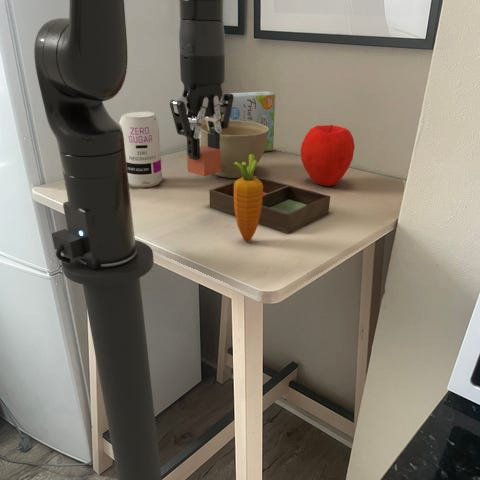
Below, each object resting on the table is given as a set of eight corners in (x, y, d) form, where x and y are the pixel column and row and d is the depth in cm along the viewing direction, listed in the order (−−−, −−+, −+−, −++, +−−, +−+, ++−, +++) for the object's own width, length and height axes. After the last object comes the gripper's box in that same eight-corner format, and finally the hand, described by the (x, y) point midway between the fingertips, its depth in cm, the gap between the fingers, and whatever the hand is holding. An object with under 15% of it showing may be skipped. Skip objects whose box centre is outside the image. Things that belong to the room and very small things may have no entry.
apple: (293, 189, 113) (298, 127, 105) (303, 174, 122) (308, 117, 115) (345, 195, 110) (354, 132, 103) (351, 179, 119) (360, 121, 112)
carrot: (245, 250, 85) (247, 162, 77) (227, 241, 88) (227, 155, 80) (266, 243, 88) (270, 157, 80) (248, 234, 91) (250, 150, 83)
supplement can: (150, 175, 120) (144, 109, 112) (169, 183, 115) (164, 115, 107) (120, 181, 116) (111, 113, 107) (138, 190, 110) (131, 119, 102)
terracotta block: (204, 176, 91) (203, 154, 88) (187, 171, 93) (186, 149, 91) (220, 171, 93) (220, 149, 91) (204, 166, 96) (203, 145, 94)
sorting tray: (287, 233, 92) (288, 215, 90) (209, 207, 103) (209, 190, 101) (328, 213, 101) (330, 196, 99) (253, 191, 111) (253, 175, 109)
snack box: (265, 146, 145) (267, 90, 136) (273, 151, 140) (276, 93, 132) (195, 152, 138) (193, 93, 130) (201, 158, 134) (200, 97, 125)
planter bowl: (245, 187, 113) (246, 138, 107) (188, 175, 120) (186, 128, 114) (278, 170, 125) (280, 125, 119) (224, 160, 132) (224, 117, 126)
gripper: (215, 48, 89) (215, 146, 98) (154, 52, 80) (161, 159, 89) (247, 51, 85) (244, 153, 94) (186, 55, 76) (190, 168, 85)
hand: (203, 156), depth 92 cm, fingers closed on terracotta block, 4 cm apart
